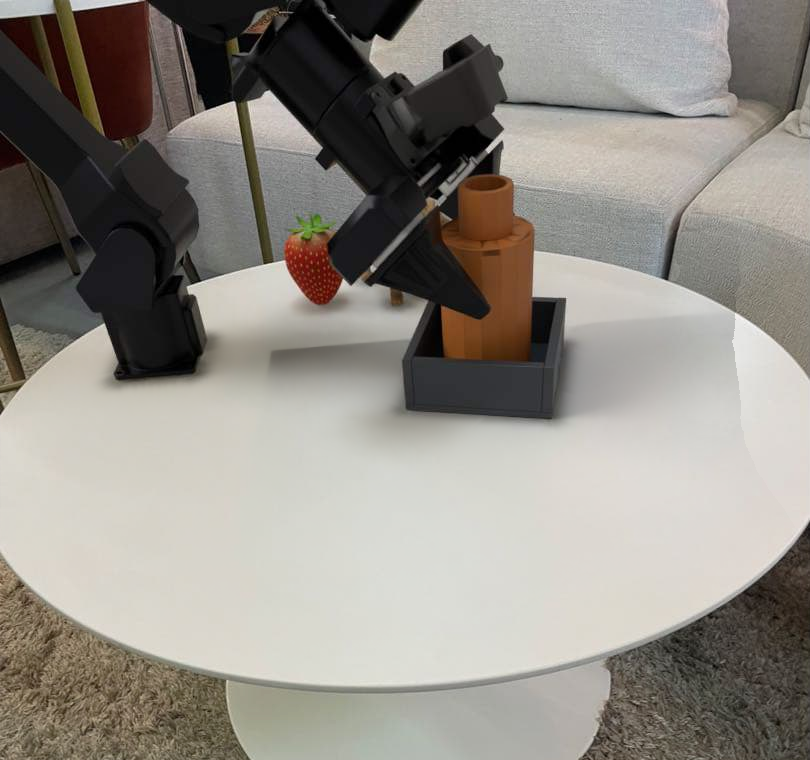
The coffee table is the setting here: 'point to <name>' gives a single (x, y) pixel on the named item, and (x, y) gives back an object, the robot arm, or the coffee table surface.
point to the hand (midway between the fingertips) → (507, 284)
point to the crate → (486, 369)
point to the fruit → (312, 260)
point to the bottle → (491, 272)
